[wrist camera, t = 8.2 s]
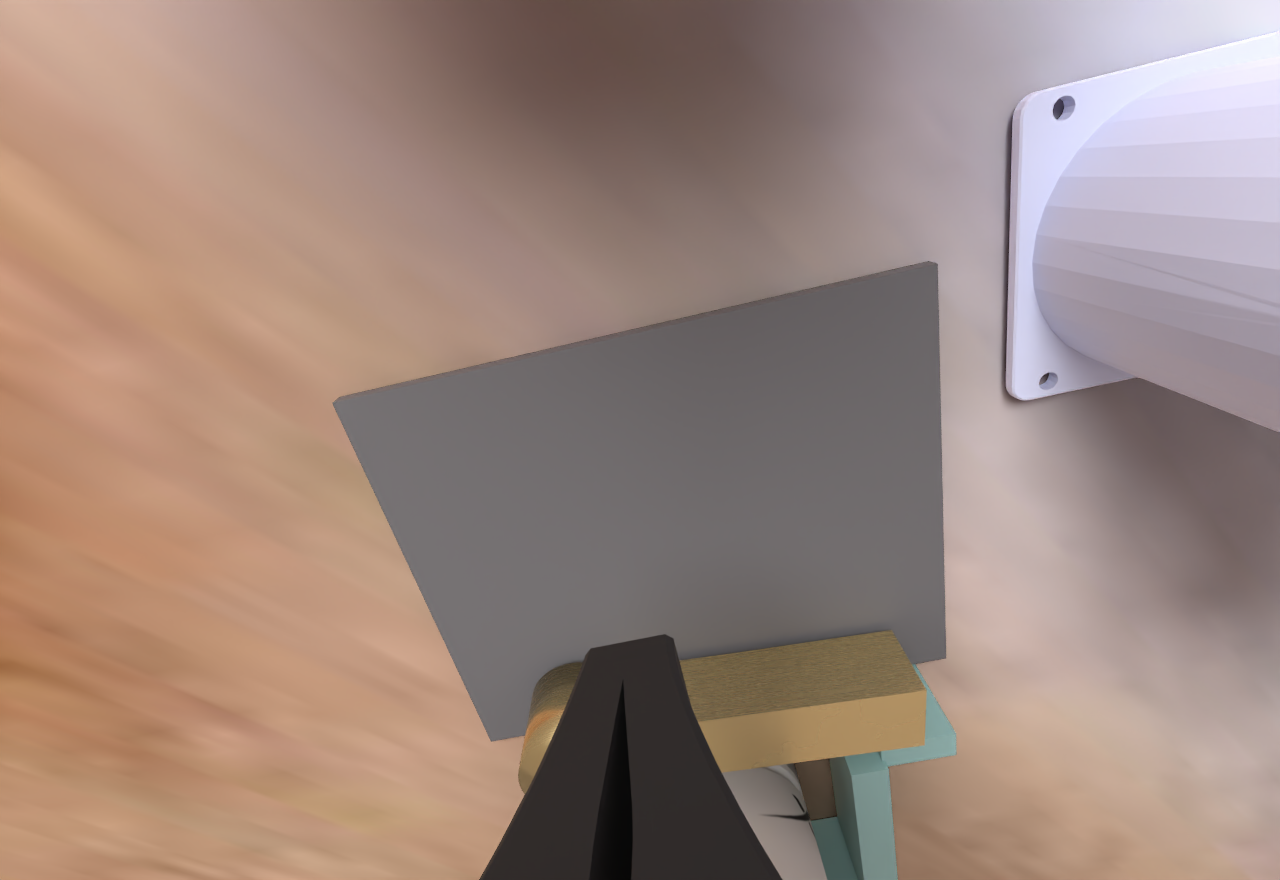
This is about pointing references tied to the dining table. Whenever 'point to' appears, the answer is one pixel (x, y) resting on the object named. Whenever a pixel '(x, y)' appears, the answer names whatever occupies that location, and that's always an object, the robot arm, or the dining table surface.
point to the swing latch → (776, 703)
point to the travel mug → (779, 819)
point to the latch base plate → (675, 486)
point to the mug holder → (873, 803)
